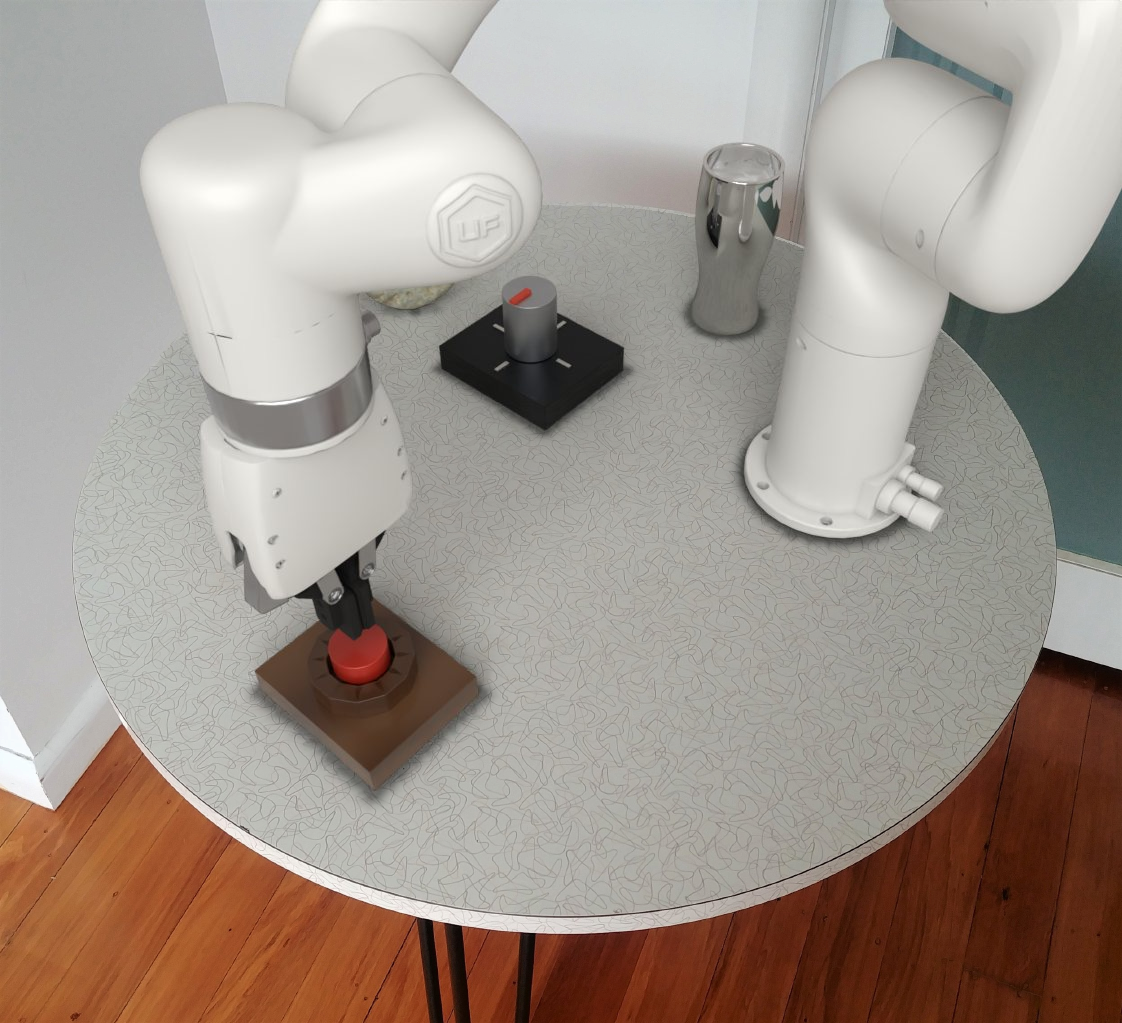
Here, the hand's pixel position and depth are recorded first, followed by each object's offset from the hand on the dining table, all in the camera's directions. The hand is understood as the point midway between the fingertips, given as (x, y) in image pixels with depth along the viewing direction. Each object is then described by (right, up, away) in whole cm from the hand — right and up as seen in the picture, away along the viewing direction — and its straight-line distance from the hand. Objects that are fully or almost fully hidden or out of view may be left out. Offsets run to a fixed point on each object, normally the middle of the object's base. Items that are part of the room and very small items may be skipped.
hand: (348, 619), depth 63 cm
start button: (0, -3, +3) cm, 4 cm away
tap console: (+10, +19, +28) cm, 35 cm away
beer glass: (+27, +24, +33) cm, 49 cm away
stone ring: (-1, +26, +35) cm, 43 cm away
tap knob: (+10, +20, +26) cm, 35 cm away
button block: (0, -5, +6) cm, 8 cm away
